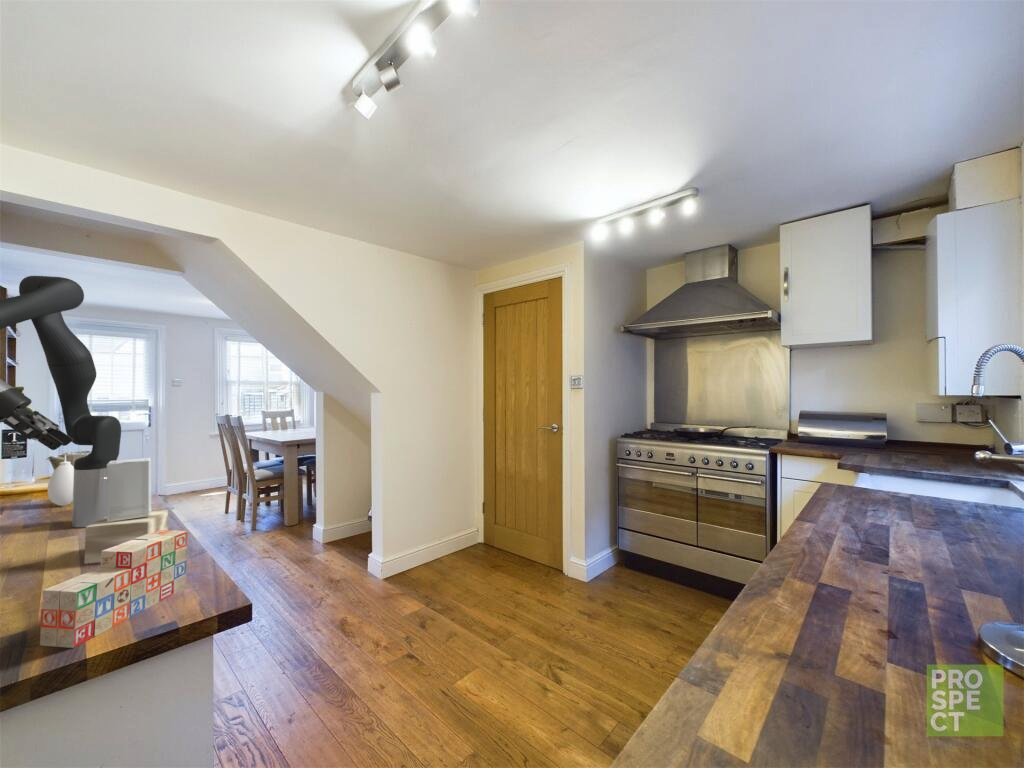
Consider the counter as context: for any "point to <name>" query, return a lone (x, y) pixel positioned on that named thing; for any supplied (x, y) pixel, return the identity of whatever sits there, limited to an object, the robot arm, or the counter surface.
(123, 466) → the skincare box
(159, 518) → the riser block
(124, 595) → the stack of blocks
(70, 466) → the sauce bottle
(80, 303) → the robot arm
